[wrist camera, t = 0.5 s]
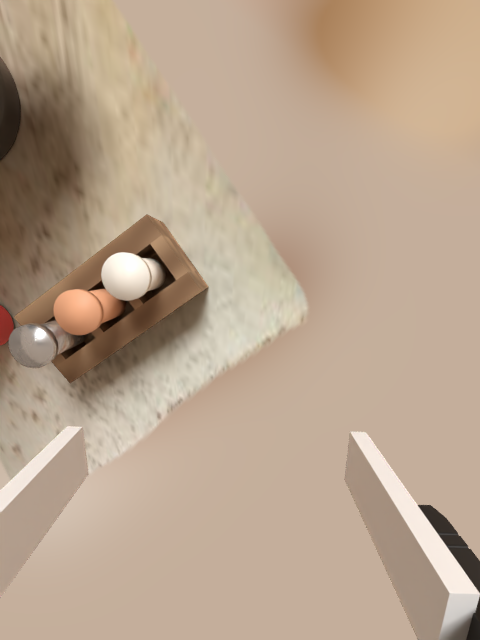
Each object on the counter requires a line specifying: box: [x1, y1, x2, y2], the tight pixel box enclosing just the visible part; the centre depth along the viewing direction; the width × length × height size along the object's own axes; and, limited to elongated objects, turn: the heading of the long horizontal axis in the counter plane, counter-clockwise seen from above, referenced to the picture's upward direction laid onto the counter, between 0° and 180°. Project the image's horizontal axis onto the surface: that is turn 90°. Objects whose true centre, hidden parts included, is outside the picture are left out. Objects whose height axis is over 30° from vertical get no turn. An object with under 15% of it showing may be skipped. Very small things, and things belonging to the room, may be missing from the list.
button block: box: [14, 215, 208, 383], centre depth 35 cm, size 10×20×6 cm, turn 124°
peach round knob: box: [54, 288, 126, 335], centre depth 29 cm, size 4×4×7 cm
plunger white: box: [101, 252, 166, 301], centre depth 29 cm, size 4×4×7 cm
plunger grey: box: [8, 320, 88, 368], centre depth 30 cm, size 4×4×7 cm
